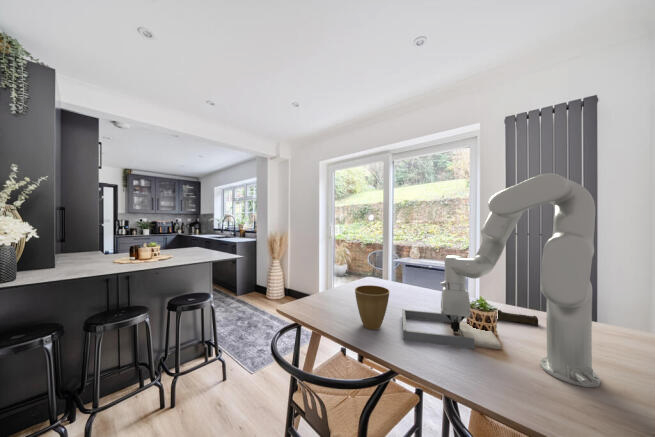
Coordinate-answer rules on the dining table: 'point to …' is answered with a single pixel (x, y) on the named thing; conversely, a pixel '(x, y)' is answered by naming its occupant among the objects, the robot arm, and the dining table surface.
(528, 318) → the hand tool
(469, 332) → the washcloth
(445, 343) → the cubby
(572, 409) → the dining table surface
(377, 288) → the plant pot
